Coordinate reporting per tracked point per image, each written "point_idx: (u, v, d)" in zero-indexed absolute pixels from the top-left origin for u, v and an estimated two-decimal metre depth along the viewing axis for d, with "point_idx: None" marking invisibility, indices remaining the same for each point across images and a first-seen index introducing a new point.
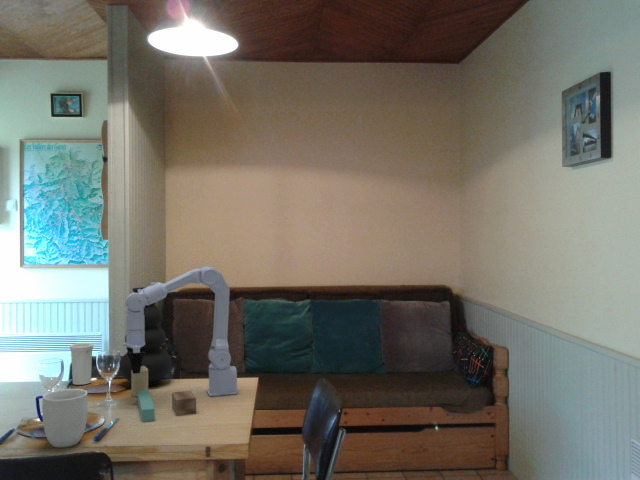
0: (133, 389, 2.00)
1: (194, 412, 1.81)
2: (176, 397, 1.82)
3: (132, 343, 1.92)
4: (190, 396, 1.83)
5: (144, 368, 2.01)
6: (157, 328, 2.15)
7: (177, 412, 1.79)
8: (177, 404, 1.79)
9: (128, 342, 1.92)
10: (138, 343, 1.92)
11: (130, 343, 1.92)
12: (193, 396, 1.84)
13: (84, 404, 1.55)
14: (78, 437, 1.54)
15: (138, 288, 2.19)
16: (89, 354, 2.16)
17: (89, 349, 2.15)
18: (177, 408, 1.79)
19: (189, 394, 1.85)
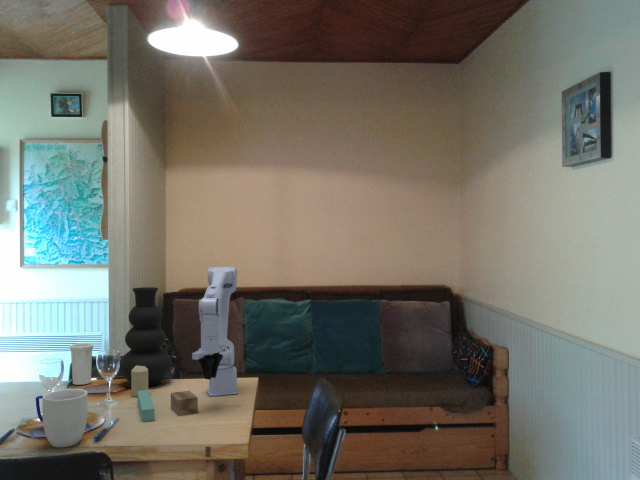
0: (133, 389, 2.00)
1: (195, 412, 1.82)
2: (177, 397, 1.82)
3: (202, 349, 1.85)
4: (190, 396, 1.83)
5: (144, 368, 2.01)
6: (157, 328, 2.15)
7: (179, 412, 1.79)
8: (179, 404, 1.79)
9: (201, 347, 1.87)
10: (206, 350, 1.84)
11: (201, 349, 1.86)
12: (193, 395, 1.84)
13: (84, 404, 1.55)
14: (78, 437, 1.54)
15: (138, 288, 2.19)
16: (89, 354, 2.16)
17: (89, 349, 2.15)
18: (179, 408, 1.79)
19: (189, 394, 1.85)
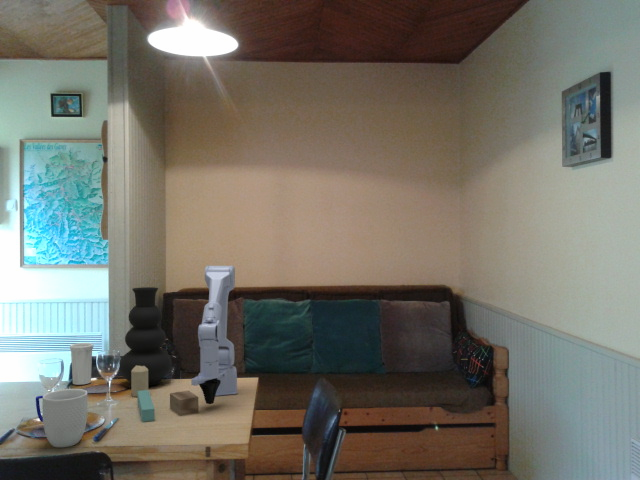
0: (133, 389, 2.00)
1: (196, 411, 1.82)
2: (177, 397, 1.82)
3: (201, 374, 1.85)
4: (191, 396, 1.83)
5: (144, 368, 2.01)
6: (157, 328, 2.15)
7: (180, 412, 1.79)
8: (180, 404, 1.79)
9: None
10: (205, 375, 1.84)
11: (200, 374, 1.86)
12: (194, 395, 1.84)
13: (84, 404, 1.55)
14: (78, 437, 1.54)
15: (138, 288, 2.19)
16: (89, 354, 2.16)
17: (89, 349, 2.15)
18: (180, 408, 1.79)
19: (189, 394, 1.86)
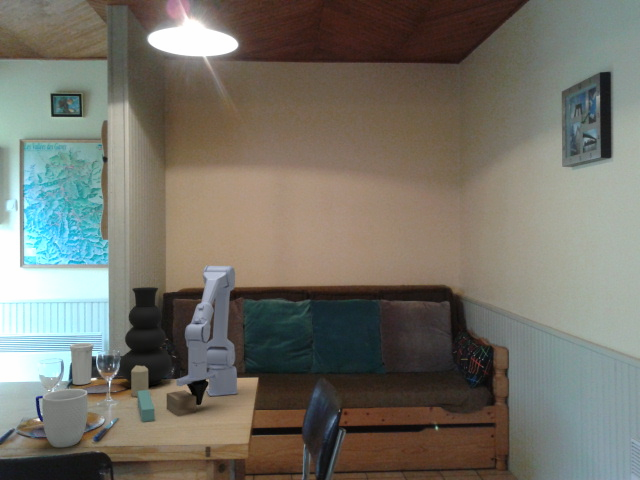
0: (133, 389, 2.00)
1: (194, 411, 1.82)
2: (175, 397, 1.81)
3: (188, 375, 1.85)
4: (188, 395, 1.83)
5: (144, 368, 2.01)
6: (157, 328, 2.15)
7: (178, 412, 1.79)
8: (178, 404, 1.79)
9: None
10: (191, 376, 1.83)
11: (188, 374, 1.85)
12: (191, 395, 1.84)
13: (84, 404, 1.55)
14: (78, 437, 1.54)
15: (138, 288, 2.19)
16: (89, 354, 2.16)
17: (89, 349, 2.15)
18: (178, 408, 1.79)
19: (186, 393, 1.85)
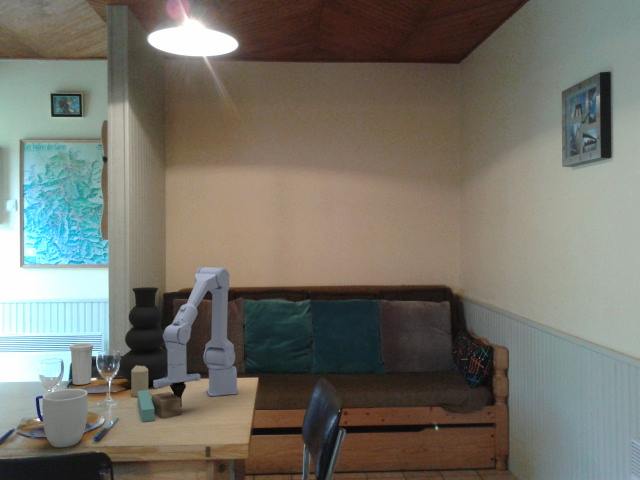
0: (133, 389, 2.00)
1: (179, 413, 1.80)
2: (159, 399, 1.79)
3: None
4: (173, 397, 1.81)
5: (144, 368, 2.01)
6: (157, 328, 2.15)
7: (162, 414, 1.77)
8: (162, 406, 1.77)
9: None
10: (169, 378, 1.81)
11: (168, 376, 1.83)
12: (176, 396, 1.82)
13: (84, 404, 1.55)
14: (78, 437, 1.54)
15: (138, 288, 2.19)
16: (89, 354, 2.16)
17: (89, 349, 2.15)
18: (162, 410, 1.77)
19: (171, 395, 1.83)
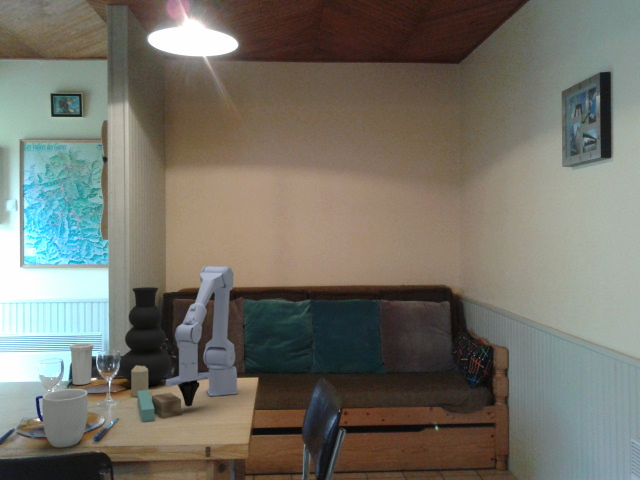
0: (133, 389, 2.00)
1: (179, 414, 1.80)
2: (160, 400, 1.79)
3: (179, 376, 1.84)
4: (173, 398, 1.81)
5: (144, 368, 2.01)
6: (157, 328, 2.15)
7: (162, 415, 1.77)
8: (162, 407, 1.77)
9: None
10: (181, 377, 1.82)
11: (179, 375, 1.85)
12: (176, 397, 1.82)
13: (84, 404, 1.55)
14: (78, 437, 1.54)
15: (138, 288, 2.19)
16: (89, 354, 2.16)
17: (89, 349, 2.15)
18: (162, 411, 1.77)
19: (171, 396, 1.83)
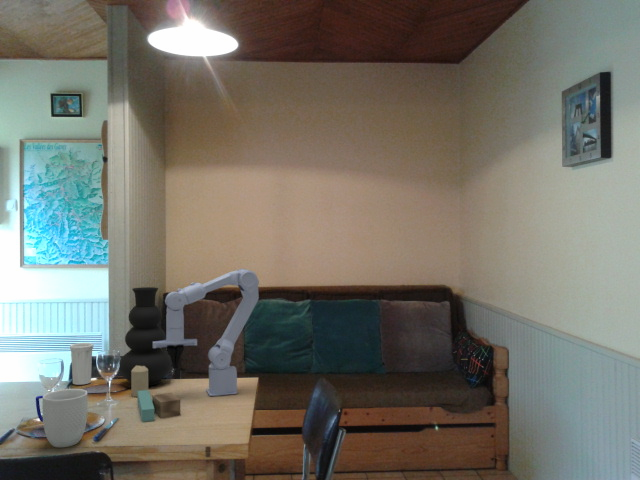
0: (133, 389, 2.00)
1: (178, 414, 1.80)
2: (159, 400, 1.79)
3: None
4: (173, 398, 1.81)
5: (144, 368, 2.01)
6: (157, 328, 2.15)
7: (161, 415, 1.77)
8: (161, 406, 1.77)
9: None
10: (166, 340, 1.97)
11: None
12: (176, 397, 1.82)
13: (84, 404, 1.55)
14: (78, 437, 1.54)
15: (138, 288, 2.19)
16: (89, 354, 2.16)
17: (89, 349, 2.15)
18: (161, 411, 1.77)
19: (172, 396, 1.83)
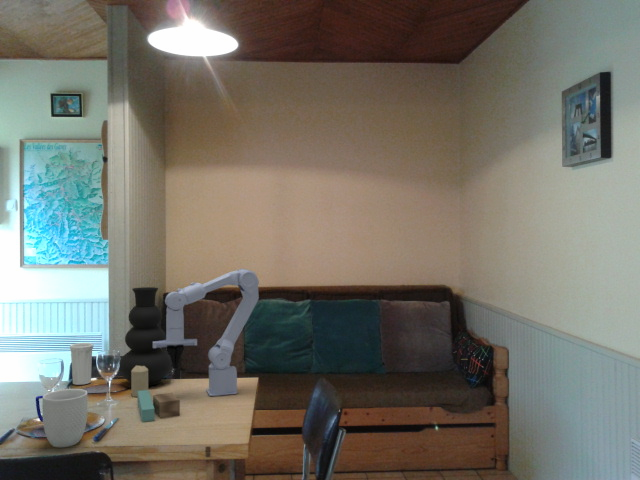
0: (133, 389, 2.00)
1: (177, 414, 1.79)
2: (159, 399, 1.79)
3: None
4: (173, 398, 1.81)
5: (144, 368, 2.01)
6: (157, 328, 2.15)
7: (160, 415, 1.77)
8: (160, 407, 1.77)
9: None
10: (166, 340, 1.97)
11: None
12: (176, 398, 1.81)
13: (84, 404, 1.55)
14: (78, 437, 1.54)
15: (138, 288, 2.19)
16: (89, 354, 2.16)
17: (89, 349, 2.15)
18: (160, 411, 1.77)
19: (172, 396, 1.83)
